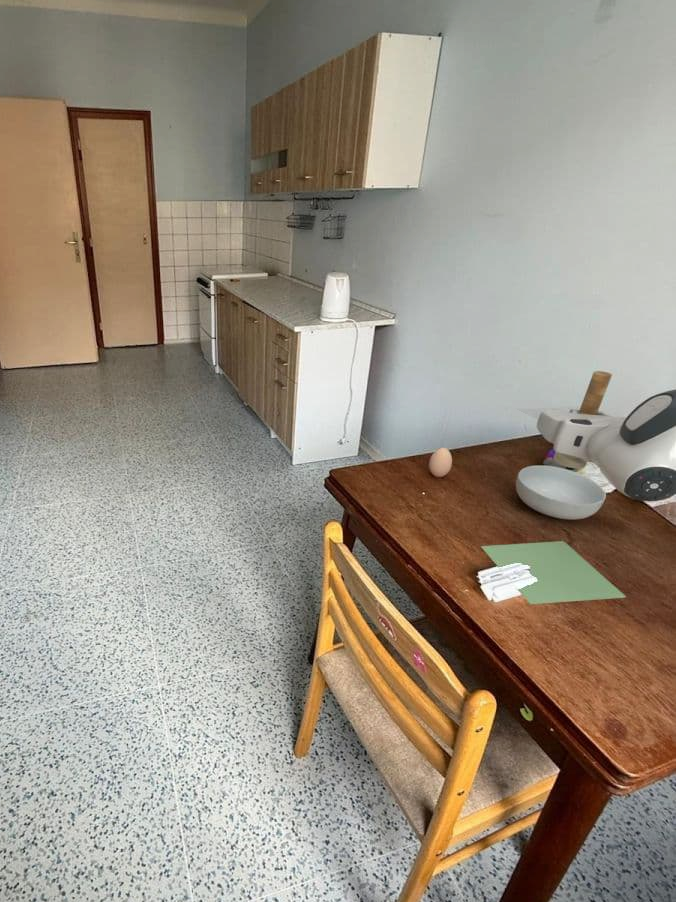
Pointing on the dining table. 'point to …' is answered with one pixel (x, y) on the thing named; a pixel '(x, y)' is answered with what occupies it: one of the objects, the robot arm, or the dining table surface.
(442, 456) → the egg
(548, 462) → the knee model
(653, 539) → the dining table surface
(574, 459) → the dish brush
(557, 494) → the cereal bowl
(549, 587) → the mat
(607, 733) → the dining table surface
